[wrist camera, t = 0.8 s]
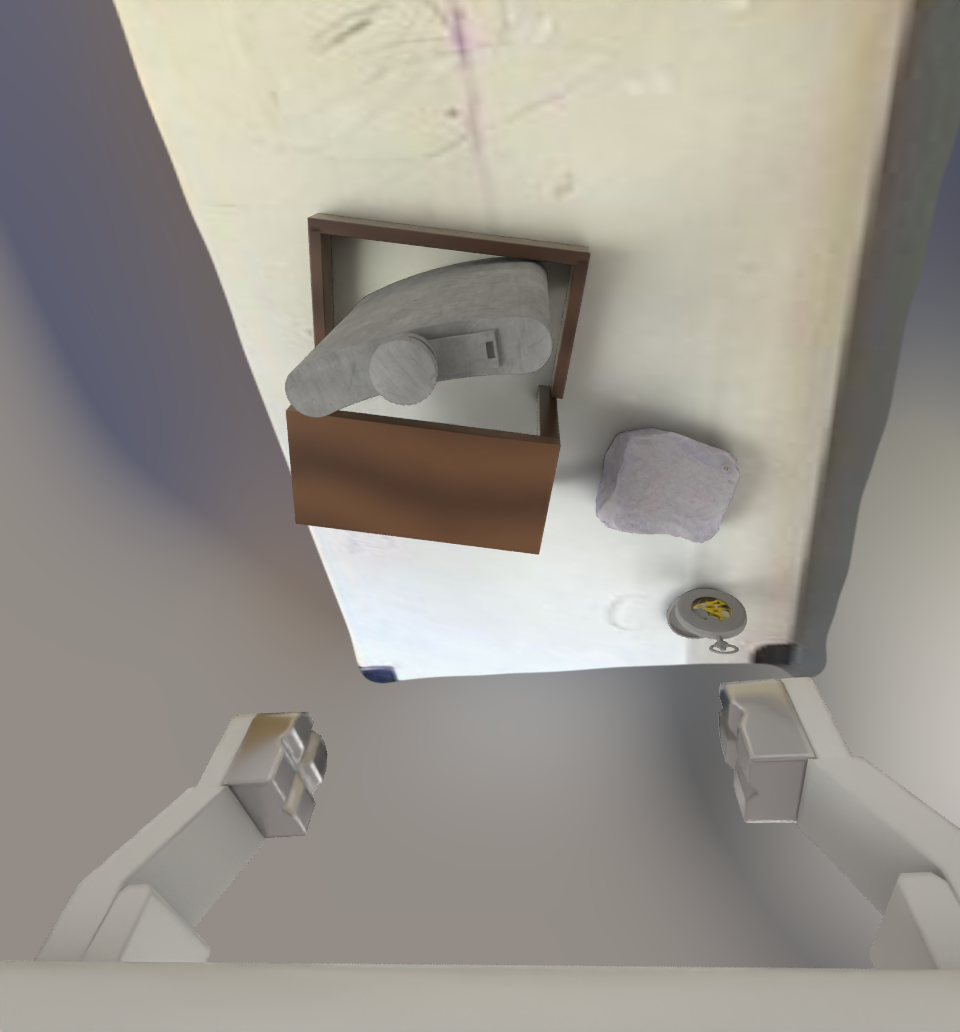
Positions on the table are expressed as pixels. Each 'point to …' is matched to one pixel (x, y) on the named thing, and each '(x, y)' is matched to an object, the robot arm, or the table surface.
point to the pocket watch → (707, 617)
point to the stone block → (665, 485)
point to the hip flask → (430, 336)
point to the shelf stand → (430, 427)
